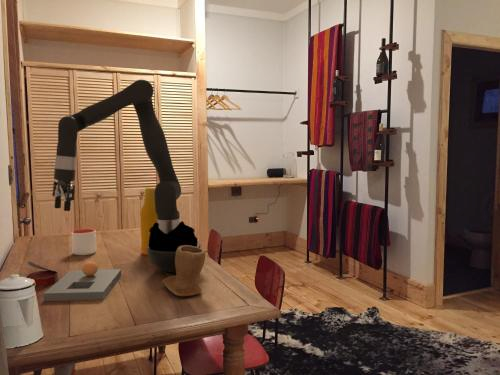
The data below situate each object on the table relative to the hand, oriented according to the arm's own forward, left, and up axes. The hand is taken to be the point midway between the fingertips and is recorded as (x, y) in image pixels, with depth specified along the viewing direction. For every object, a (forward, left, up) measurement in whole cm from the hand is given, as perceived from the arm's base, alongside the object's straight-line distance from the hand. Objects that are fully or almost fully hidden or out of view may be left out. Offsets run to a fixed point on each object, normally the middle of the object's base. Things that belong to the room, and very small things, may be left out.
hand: (62, 209), depth 165 cm
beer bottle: (-31, -20, -23) cm, 43 cm away
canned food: (+1, +18, -23) cm, 30 cm away
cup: (-1, -22, -23) cm, 32 cm away
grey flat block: (-16, +25, -23) cm, 38 cm away
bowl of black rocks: (-44, +9, -23) cm, 51 cm away
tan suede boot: (-50, +31, -23) cm, 63 cm away
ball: (-16, +20, -18) cm, 32 cm away
